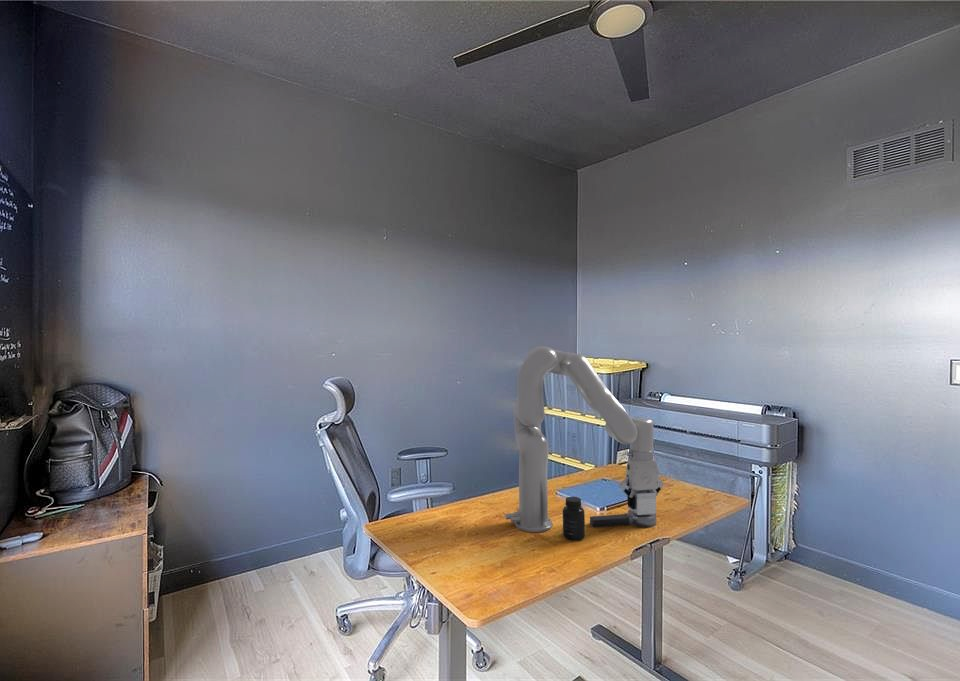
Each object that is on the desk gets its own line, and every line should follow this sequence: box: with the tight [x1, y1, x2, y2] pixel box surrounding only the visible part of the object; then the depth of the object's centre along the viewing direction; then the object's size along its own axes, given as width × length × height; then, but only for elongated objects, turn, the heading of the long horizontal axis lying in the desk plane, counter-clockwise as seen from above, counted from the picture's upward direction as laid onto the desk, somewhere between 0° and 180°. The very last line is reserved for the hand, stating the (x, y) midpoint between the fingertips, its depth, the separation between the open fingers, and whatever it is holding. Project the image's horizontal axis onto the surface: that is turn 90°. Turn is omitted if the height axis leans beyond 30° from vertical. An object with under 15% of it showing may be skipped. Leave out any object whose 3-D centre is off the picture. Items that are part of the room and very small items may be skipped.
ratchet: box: [589, 509, 657, 528], centre depth 154 cm, size 22×9×8 cm, turn 99°
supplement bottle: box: [562, 496, 586, 542], centre depth 144 cm, size 7×7×12 cm
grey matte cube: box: [626, 486, 657, 515], centre depth 155 cm, size 7×7×7 cm
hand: (641, 506), depth 155 cm, fingers closed on grey matte cube, 6 cm apart
